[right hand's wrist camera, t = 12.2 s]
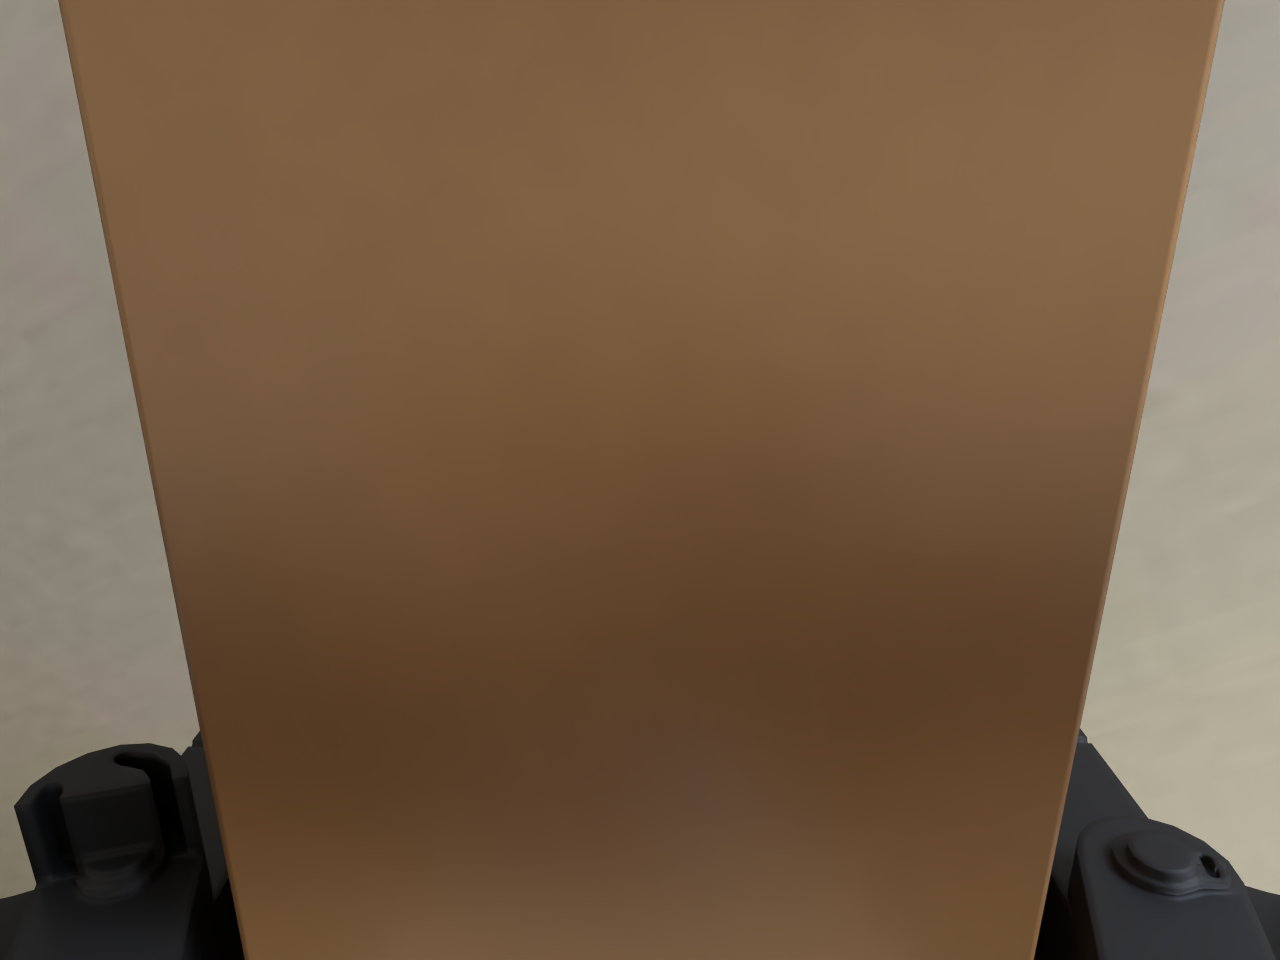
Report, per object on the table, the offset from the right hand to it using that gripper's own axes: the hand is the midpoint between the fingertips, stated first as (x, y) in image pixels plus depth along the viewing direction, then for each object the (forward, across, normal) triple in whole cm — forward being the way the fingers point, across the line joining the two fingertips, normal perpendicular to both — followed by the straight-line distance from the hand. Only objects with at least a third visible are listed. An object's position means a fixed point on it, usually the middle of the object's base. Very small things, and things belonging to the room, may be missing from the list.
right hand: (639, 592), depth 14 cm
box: (0, 0, -9) cm, 9 cm away
